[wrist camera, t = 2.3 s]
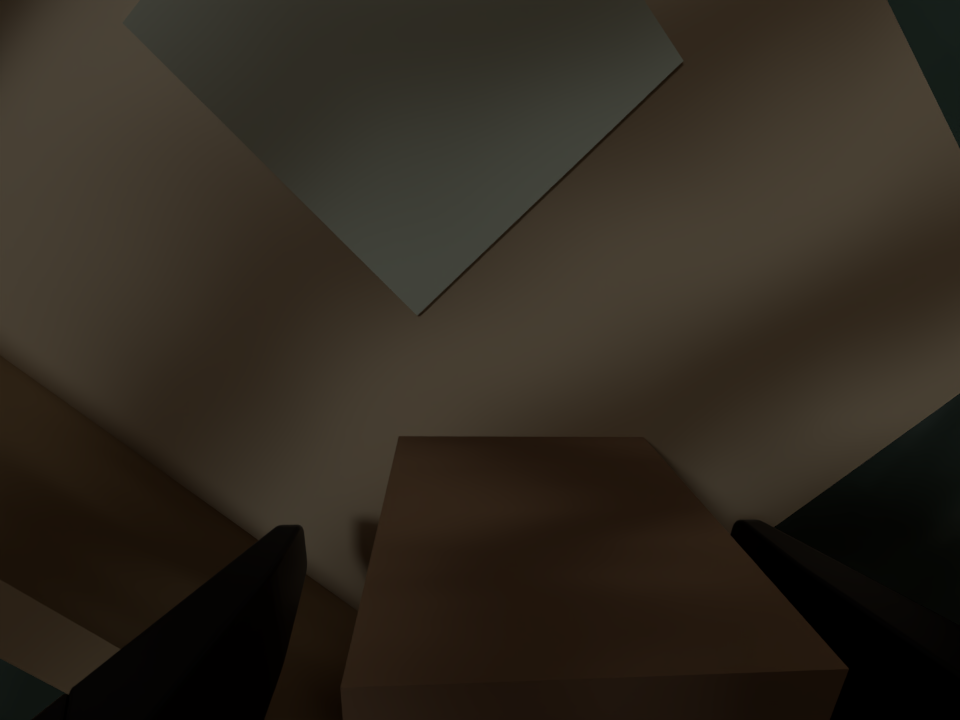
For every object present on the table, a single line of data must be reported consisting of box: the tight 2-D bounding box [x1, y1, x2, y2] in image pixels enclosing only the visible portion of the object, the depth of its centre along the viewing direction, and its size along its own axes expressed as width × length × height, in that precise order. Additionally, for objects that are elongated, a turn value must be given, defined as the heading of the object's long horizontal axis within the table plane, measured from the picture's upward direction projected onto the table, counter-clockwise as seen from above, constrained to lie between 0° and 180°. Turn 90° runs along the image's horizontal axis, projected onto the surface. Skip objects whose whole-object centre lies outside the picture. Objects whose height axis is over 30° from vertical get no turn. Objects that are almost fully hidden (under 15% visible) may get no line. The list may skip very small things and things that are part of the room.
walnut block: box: [340, 436, 849, 720], centre depth 7 cm, size 5×5×5 cm
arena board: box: [0, 0, 960, 720], centre depth 7 cm, size 20×16×4 cm
